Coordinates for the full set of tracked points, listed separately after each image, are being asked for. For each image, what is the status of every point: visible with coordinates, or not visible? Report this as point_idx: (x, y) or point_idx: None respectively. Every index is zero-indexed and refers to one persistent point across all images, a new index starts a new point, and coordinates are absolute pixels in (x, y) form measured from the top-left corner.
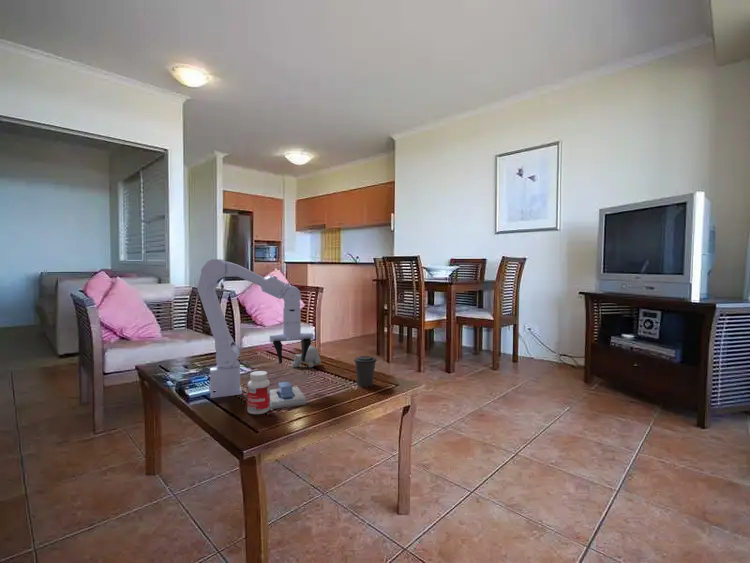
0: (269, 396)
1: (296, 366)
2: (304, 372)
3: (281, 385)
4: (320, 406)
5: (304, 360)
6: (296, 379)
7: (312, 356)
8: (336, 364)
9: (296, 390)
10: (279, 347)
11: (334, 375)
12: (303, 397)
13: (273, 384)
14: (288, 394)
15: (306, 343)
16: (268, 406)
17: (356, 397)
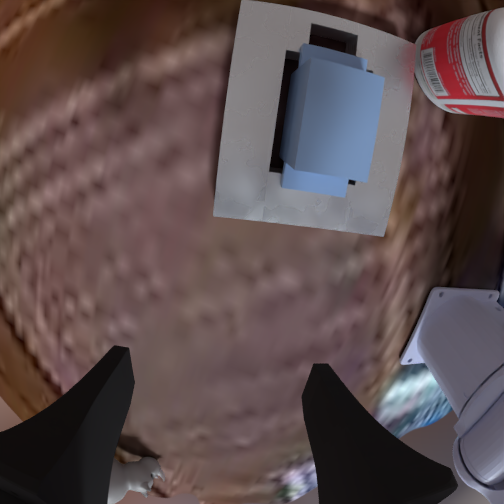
0: (448, 29)
1: (150, 458)
2: (128, 418)
3: (372, 110)
4: None
5: (112, 349)
6: (170, 374)
7: None
8: None
9: (244, 141)
10: (403, 469)
11: (26, 342)
12: (250, 10)
13: (280, 359)
14: (328, 60)
15: (22, 463)
16: (429, 30)
17: (12, 36)
